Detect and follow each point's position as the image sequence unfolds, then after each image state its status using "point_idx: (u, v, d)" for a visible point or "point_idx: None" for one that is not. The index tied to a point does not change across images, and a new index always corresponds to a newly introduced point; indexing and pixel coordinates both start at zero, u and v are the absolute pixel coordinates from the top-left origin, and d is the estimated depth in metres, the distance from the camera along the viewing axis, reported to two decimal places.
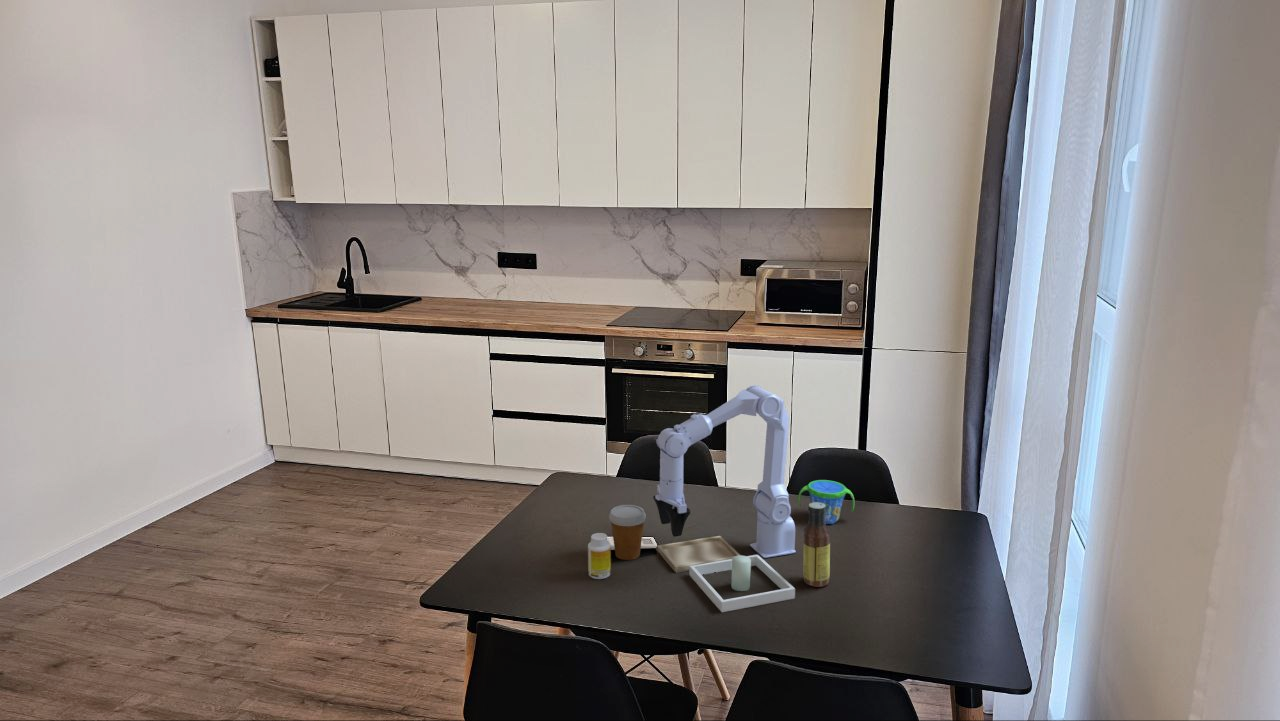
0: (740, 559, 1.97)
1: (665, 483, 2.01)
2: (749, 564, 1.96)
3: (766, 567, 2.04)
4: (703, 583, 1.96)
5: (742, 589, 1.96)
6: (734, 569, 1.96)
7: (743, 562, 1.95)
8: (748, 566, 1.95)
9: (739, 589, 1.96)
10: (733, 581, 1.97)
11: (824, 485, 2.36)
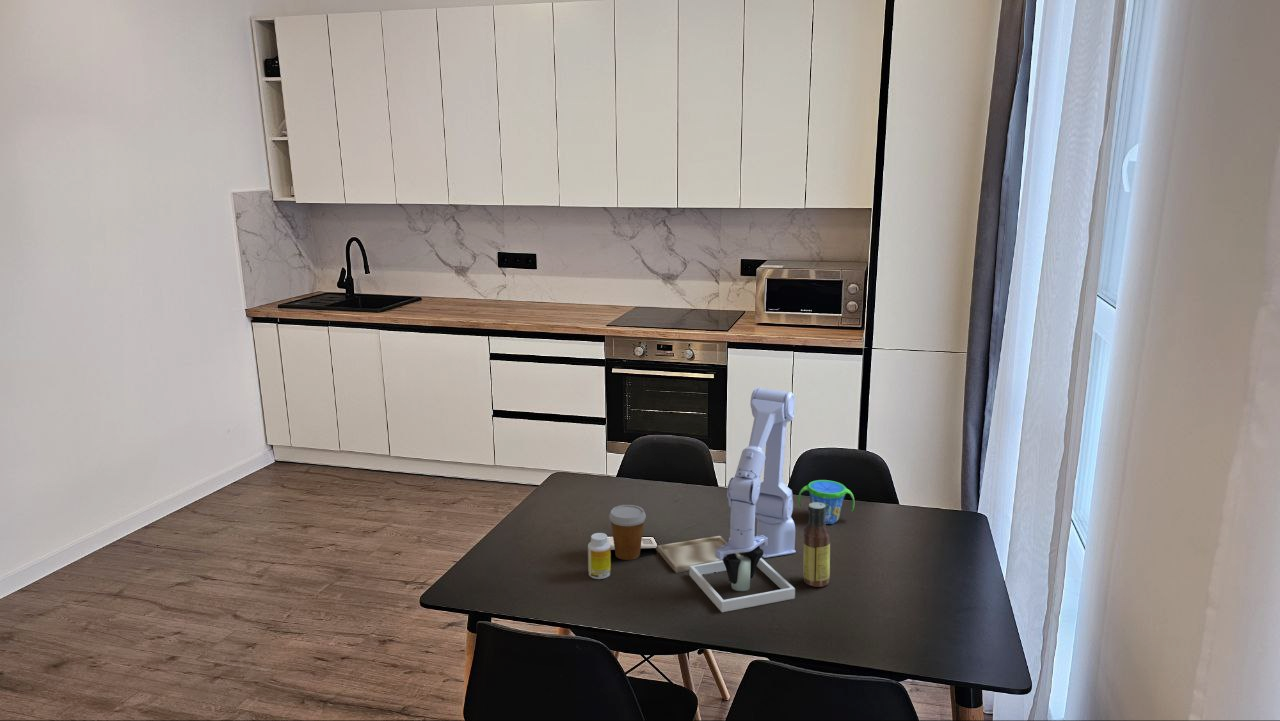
0: (740, 559, 1.97)
1: (730, 526, 1.96)
2: (749, 564, 1.96)
3: (766, 567, 2.04)
4: (703, 583, 1.96)
5: (742, 589, 1.96)
6: None
7: (743, 562, 1.95)
8: (748, 566, 1.95)
9: (739, 589, 1.96)
10: None
11: (824, 485, 2.36)
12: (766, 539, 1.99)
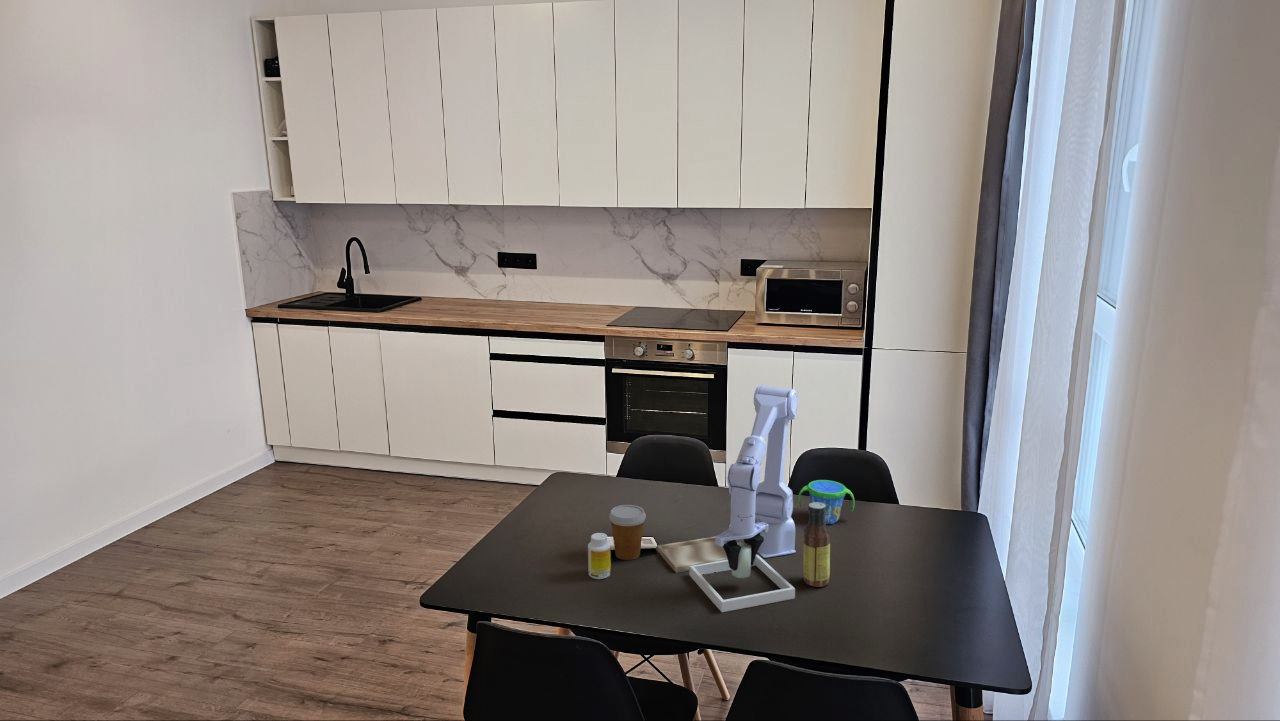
0: None
1: None
2: (749, 551, 1.95)
3: (766, 567, 2.04)
4: (703, 583, 1.96)
5: (742, 576, 1.95)
6: None
7: (744, 549, 1.94)
8: (748, 553, 1.95)
9: (739, 576, 1.95)
10: None
11: (824, 485, 2.36)
12: (767, 526, 1.98)
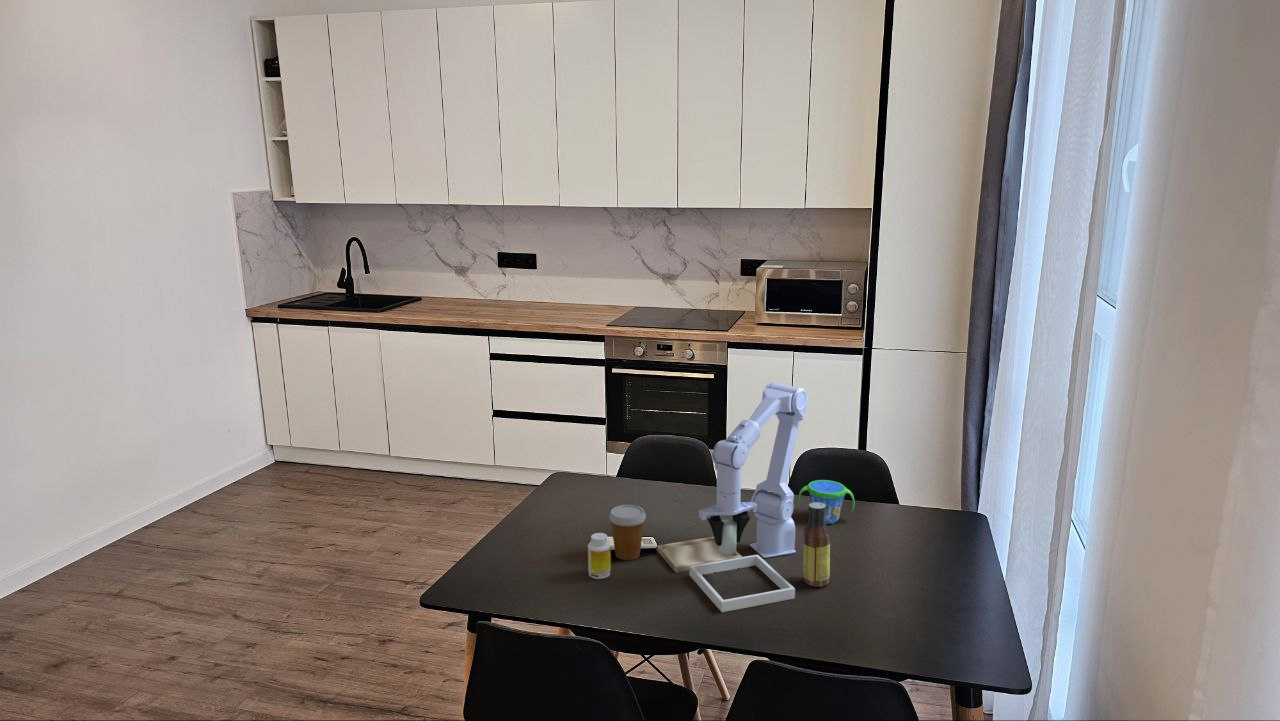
0: (727, 523, 2.00)
1: None
2: (734, 528, 1.99)
3: (766, 567, 2.04)
4: (703, 583, 1.96)
5: (726, 552, 2.00)
6: None
7: (728, 526, 1.99)
8: (733, 530, 1.99)
9: (724, 552, 2.00)
10: None
11: (824, 485, 2.36)
12: (755, 505, 2.01)
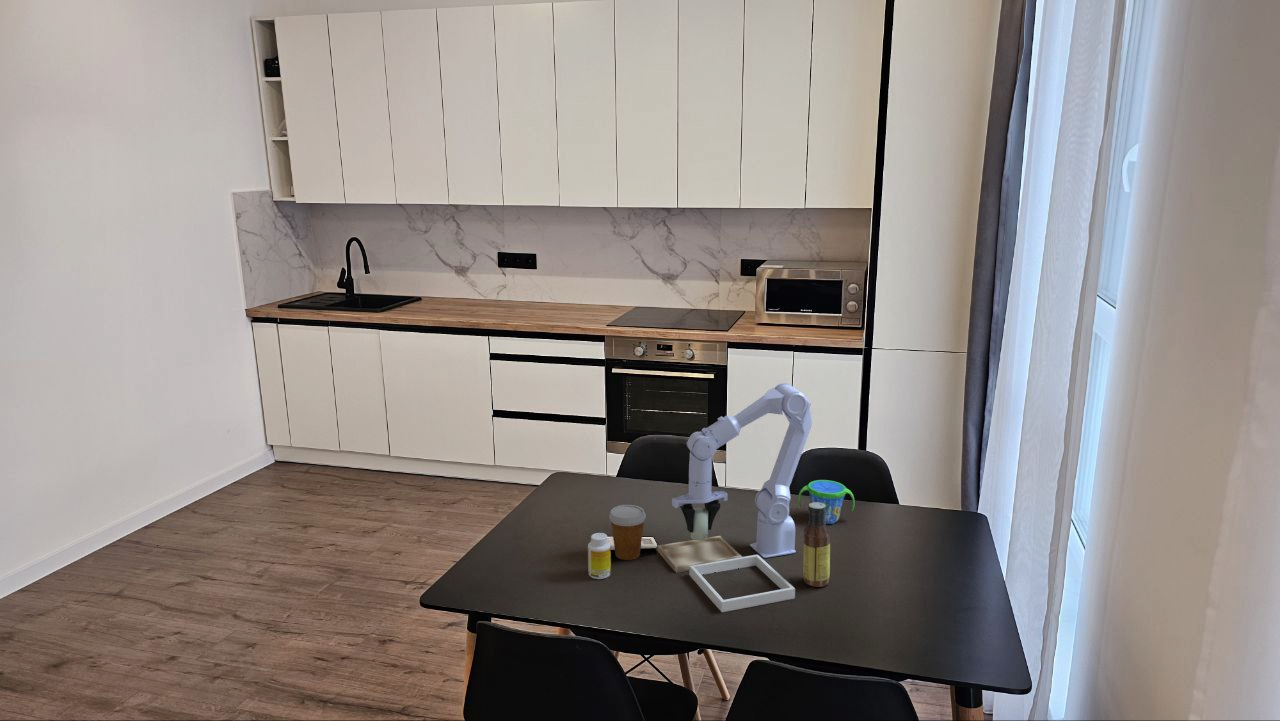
0: (698, 511, 2.11)
1: None
2: (705, 516, 2.10)
3: (766, 567, 2.04)
4: (703, 583, 1.96)
5: (698, 538, 2.10)
6: None
7: (700, 513, 2.09)
8: (704, 517, 2.09)
9: (695, 538, 2.11)
10: None
11: (824, 485, 2.36)
12: (725, 495, 2.12)
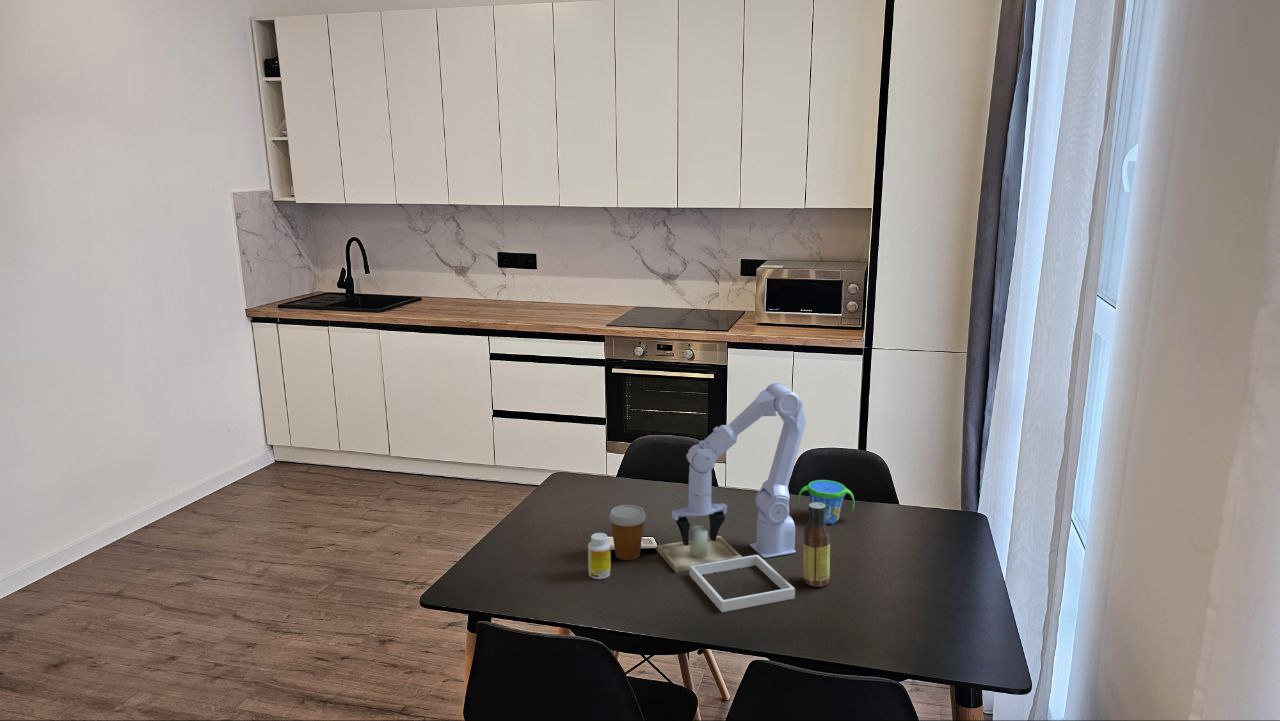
0: (698, 528, 2.12)
1: None
2: (705, 533, 2.11)
3: (766, 567, 2.04)
4: (703, 583, 1.96)
5: (698, 556, 2.11)
6: (691, 536, 2.12)
7: (699, 531, 2.11)
8: (704, 535, 2.11)
9: (695, 556, 2.12)
10: (691, 548, 2.13)
11: (824, 485, 2.36)
12: (725, 507, 2.12)
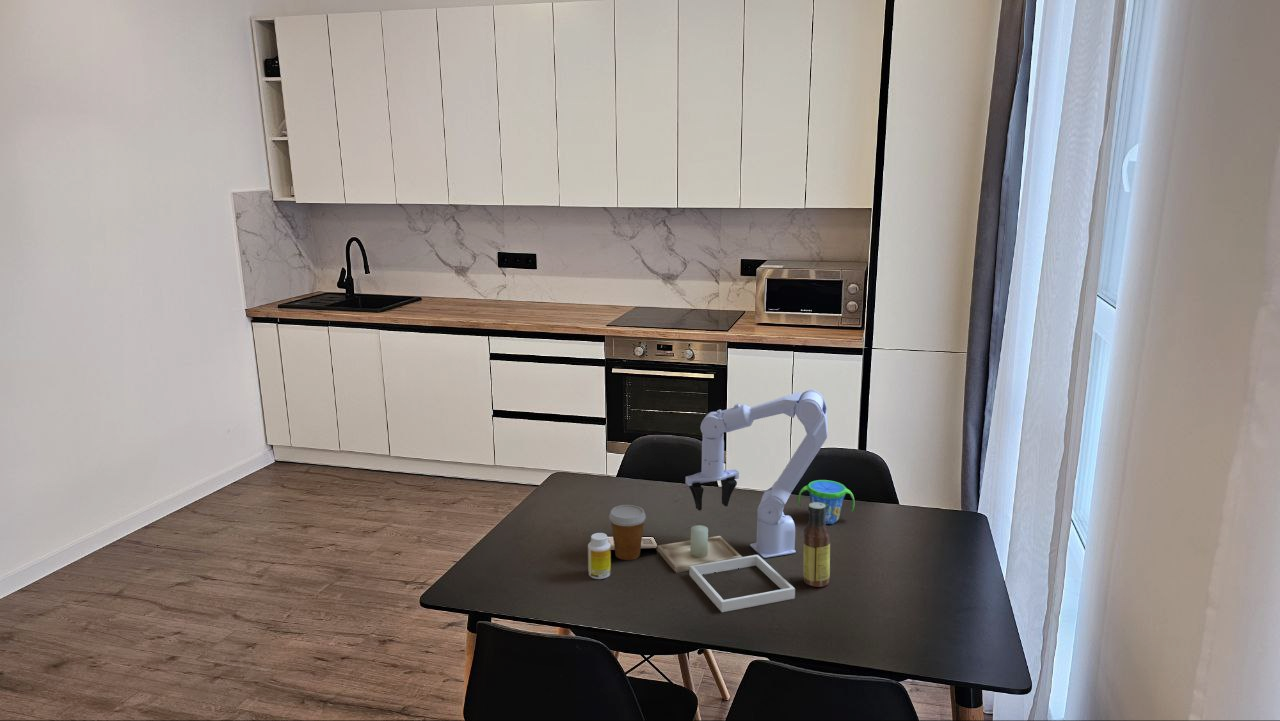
0: (698, 528, 2.12)
1: None
2: (705, 533, 2.11)
3: (766, 567, 2.04)
4: (703, 583, 1.96)
5: (698, 556, 2.11)
6: (691, 536, 2.12)
7: (699, 531, 2.11)
8: (704, 535, 2.11)
9: (695, 556, 2.12)
10: (691, 548, 2.13)
11: (824, 485, 2.36)
12: (737, 473, 2.19)
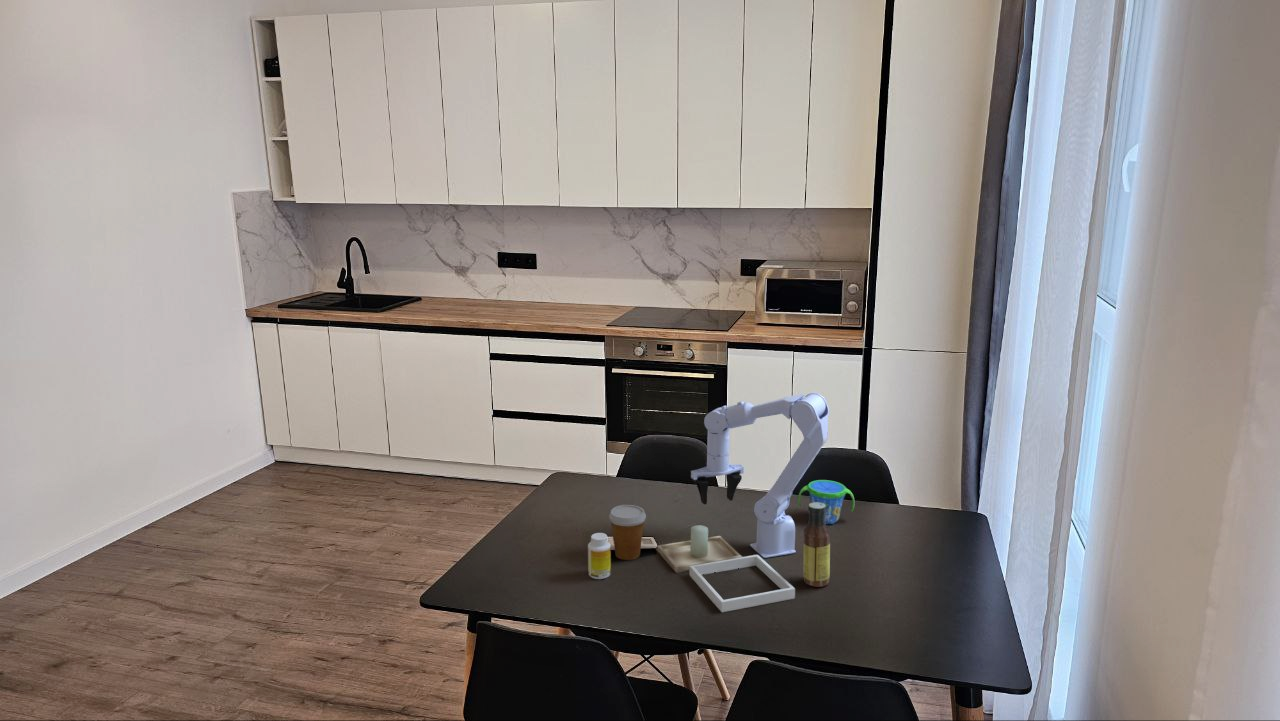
0: (698, 528, 2.12)
1: None
2: (705, 533, 2.11)
3: (766, 567, 2.04)
4: (703, 583, 1.96)
5: (698, 556, 2.11)
6: (691, 536, 2.12)
7: (699, 531, 2.11)
8: (704, 535, 2.11)
9: (695, 556, 2.12)
10: (691, 548, 2.13)
11: (824, 485, 2.36)
12: (742, 467, 2.22)
